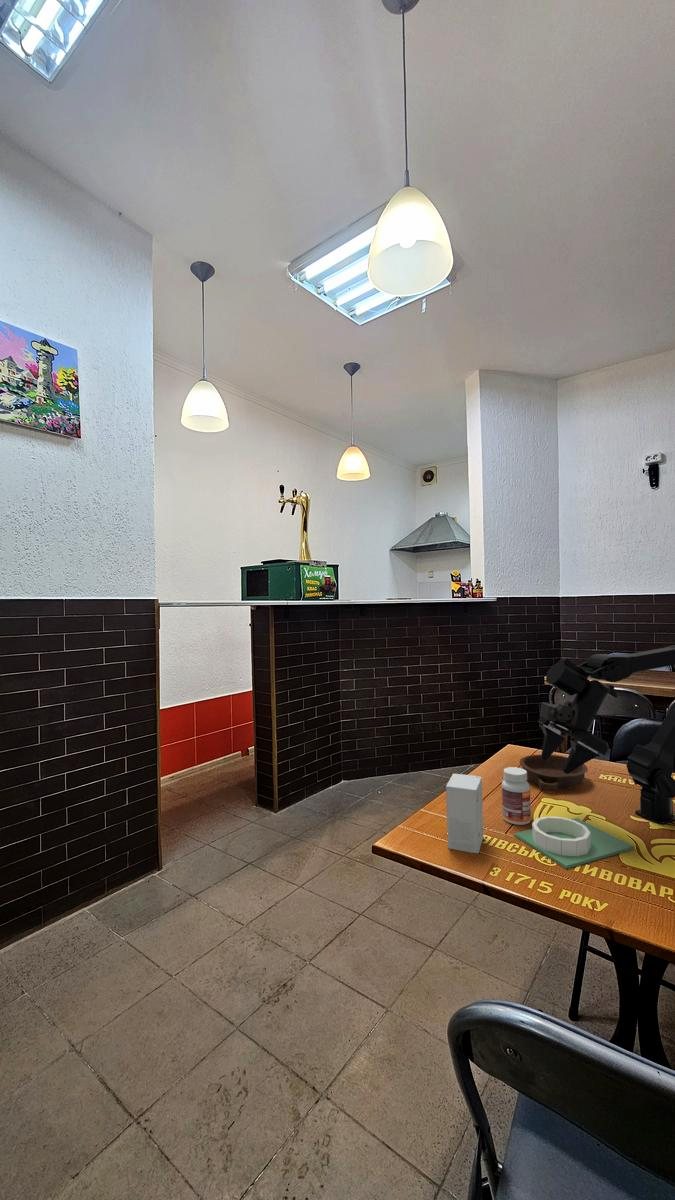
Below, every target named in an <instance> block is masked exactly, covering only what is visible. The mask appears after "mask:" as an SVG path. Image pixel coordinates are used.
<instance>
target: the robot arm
mask: <svg viewBox="0 0 675 1200" xmlns="http://www.w3.org/2000/svg"><path fill="white" fill-rule="evenodd" d="M671 666H672V667H673V668H674V669H675V645H674V644H673V645H669V646H667V647H661V648H655V649H649V650H643V651H638V652H634V653H627V654H611V653H609V654H608V653H604V654H603V653H596V654H592V655H591V656H589V659H588V660H587V661H584V662H582V663H580V664H578V665H576V664H575V663H573V662H572V661H571V660H570V659H568V658H564V657H560V659H559V661H558V662H556V663H554V664H553V665H552V666H551V667H550V668H548V670H547V672H546V675H545V680H546V683H547V684H548V685H551V686H552V687H554V688H555V689H557V690H559V691H561V692H563V693H564V694H566V695H568V696H573V699H571V701H570V700H566V701H565V702H564V704H562V703H558V704H553V703H547V702H541V704H540V712H539V718H538V720H537V722H539V723H540V724H539V727H540V728H541V730H542V733H543V740H542V741H543V743H542V749H541V754H540V755H541V758H542V759H543V760H546V759H547V758H548V757H550V756H551V755H553V753H554V752H555V751H556V750H557V749H558V748H559V747H560V746H561V745H562V743H564V741H565V740H566V739H567V738H566V736H567V735H568V736H570V737H571V738H573V739H574V740H573V739H571V738H570V739H569V741H570V746H571V749H570V753H569V754H568V756H567V757H568V759H567V761H566V764H565V766H564V769H563V772H564V773H566V774H569V773H570V772H572V771H573V770H575V769H576V768H578V767H580V766H581V765H583V764H586V763H588V762H589V761H592V760H593V759H595V758H600V756H602V755H603V756H606V755H607V753H608V750H609V749H610V746H609V743H608V741H606V740H604V739H603V738H601V737H600V736H598V735H596V734H594V733H592V732H591V731H590V729H591V727H592V725H593V724H594V721H597V722H600V720H601V716H599V715H598V714H599V711H601V708H602V706H603V704H604V702H605V700H606V699H607V697H608V696H609V697H611V698H615V699H617V698H618V694H617V692H616V689H615V686H614V685H613V684H609V683H619V682H620V681H624V680H625V679H629V678H630V677H631V676H632V675H634V674H635V673H639V672H644V671H648V670H655V669H660V668H664V667H665V668H666V667H671ZM589 678H591V679H592V680H589ZM599 680H600V681H599ZM601 681H606V682H609V683H607V684H604V683H603V682H601ZM674 755H675V701H674V702H673V704H672V705H671V708H670V709H669V710H668V712H667V714H666V716H665V717H664V719H663V720H662V722H661V724H660V726H659V727H658V729H657V731H656V732H655V734H654V736H653V737H652V739H651V741H650V742H649V743H647V744H645V745H643V746H642V745H640V744H636V745H635V746H634V747H633V748H632V751H631V753H630V754H629V755H628V756H627V757H626V758H627V760H628V761H627V763H626V766H625V767H626V769H627V772H628V775H629V776H630V777H631V779H632V780H633V781H632V782H633V783H634V785H638V786H639V787H641V789H640V799H639V804H640V805H639V806H640V807H639V809H637V810H634V814H636V815H638V816H641V817H643V818H645V819H648V820H650V821H652V822H654V823H657V824H659V825H663V824H667V823H671V822H672V823H673V822H675V813H674V806H673V805H674V804H673V802H674V800H673V799H675V778H673V777H672V775H673V773H674V770H675V767H674V766H675V764H674Z"/></svg>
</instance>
